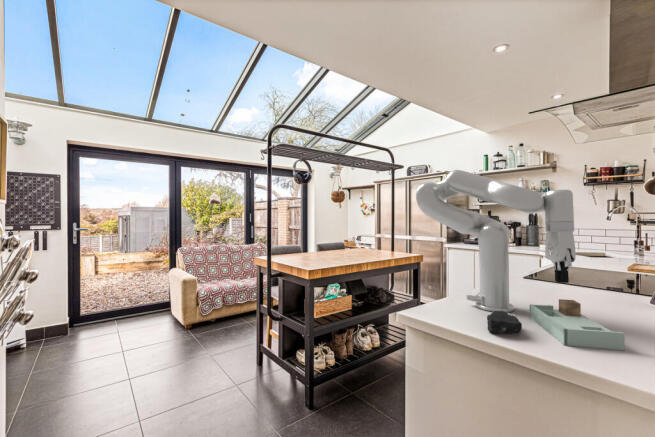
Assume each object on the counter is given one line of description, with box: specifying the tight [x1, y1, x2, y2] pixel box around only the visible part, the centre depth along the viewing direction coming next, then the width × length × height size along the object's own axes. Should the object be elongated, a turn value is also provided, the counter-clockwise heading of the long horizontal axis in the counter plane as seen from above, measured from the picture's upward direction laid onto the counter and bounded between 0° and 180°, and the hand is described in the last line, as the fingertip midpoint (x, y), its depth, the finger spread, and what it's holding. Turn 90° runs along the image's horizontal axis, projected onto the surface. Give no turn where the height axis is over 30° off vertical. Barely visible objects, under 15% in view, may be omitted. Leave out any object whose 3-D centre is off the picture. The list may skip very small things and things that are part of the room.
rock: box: [486, 311, 523, 335], centre depth 88 cm, size 10×9×6 cm
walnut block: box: [558, 298, 582, 317], centre depth 92 cm, size 4×4×4 cm
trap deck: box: [529, 304, 626, 351], centre depth 86 cm, size 13×22×4 cm, turn 165°
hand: (561, 282), depth 97 cm, fingers closed
